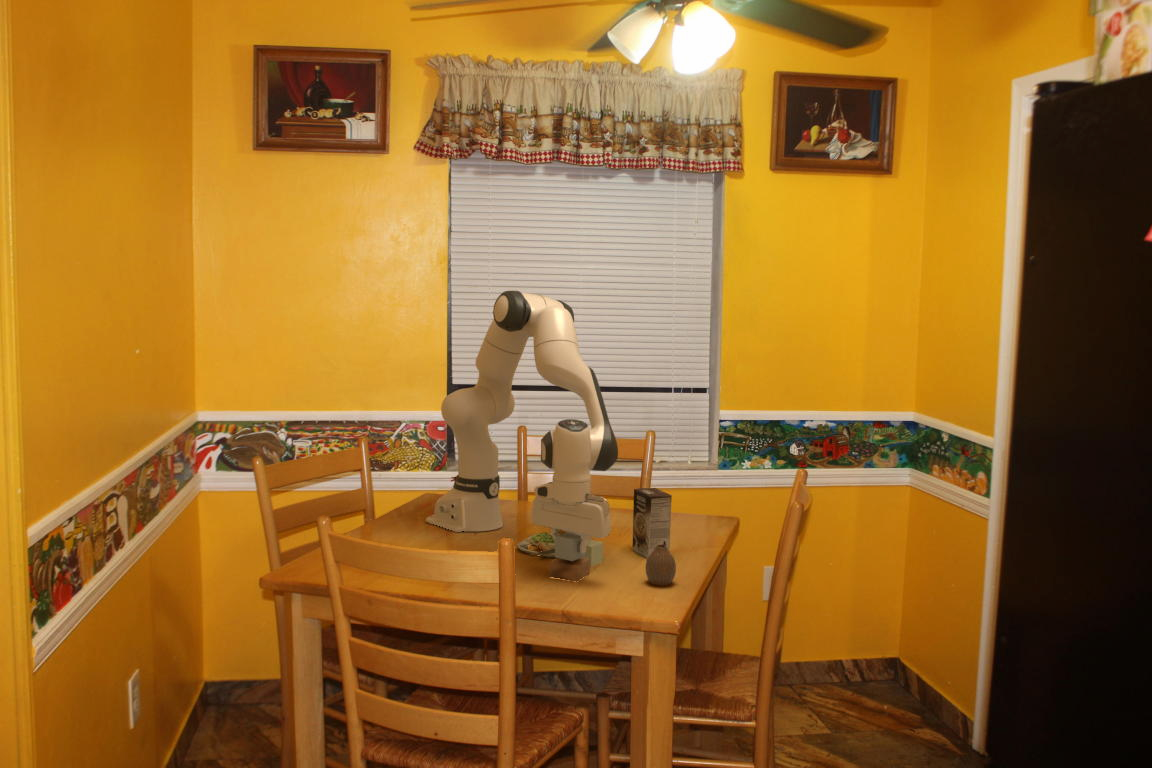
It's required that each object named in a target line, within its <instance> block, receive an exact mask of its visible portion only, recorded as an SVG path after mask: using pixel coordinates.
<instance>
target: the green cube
mask: <svg viewBox="0 0 1152 768" xmlns="http://www.w3.org/2000/svg"><path fill="white" fill-rule="evenodd" d="M582 558H587V559H590V566H592V567H594V566H596V565H595V564H597V565H598V563H599V564H601V563H600V562H602V563H604V542H603V541H597V540H593V539H590V540H589V542H588V544H587V545H586V552H585V556H584V557H582ZM593 565H594V566H593Z"/></svg>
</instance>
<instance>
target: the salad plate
mask: <svg viewBox="0 0 1152 768" xmlns="http://www.w3.org/2000/svg"><path fill="white" fill-rule="evenodd" d="M565 532H568V531H563V533H565ZM554 543H555V540H554V539H553V537H552V534H551V533H548V532H544V531H543V532H541V533H537V534H533V535H531V536H529V537H527V538H526V539H524V540H523V541H520V542H518V543H517V548H518V549H519V550H520V551H521V552H522V553H524V552H525V554H526V553H528V554H527V555H529V554H533V555H532V556H536V555H540V556H539V557H542V556H545V557H544V558H556V557H555V546H554ZM531 544H532V545H531ZM528 545H531V546H534V545H535V547H536V546H537V548H539V549H540V550H541V551H542V552H541V551H540V550H539V551H536V550H530V549H529V548H528ZM528 549H529V550H528Z"/></svg>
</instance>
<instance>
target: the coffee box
mask: <svg viewBox="0 0 1152 768" xmlns="http://www.w3.org/2000/svg"><path fill="white" fill-rule="evenodd" d="M672 496H673V495H672V494H669V493H667V492H665V491H663V490H661V489H658V488H656V487H651V488H650V487H646V488H645V487H642V488H633V507H632V508H633V517H632V518H633V519H632V547H631V548H632V549H631V550H632V551H633V552H635V553H637V554H638V555H640V556H642V557H643V558H645V559H646V560H647V559H648V557H649V555H650V554H651V553H652V552H653V550H654V549H655V547H656V545H660V544H661V545H666V546H667V548H668V550H669V551H670V546H671V545H670V544H671V542H670V541H671V525H672V524H671V523H672V522H671V521H672Z"/></svg>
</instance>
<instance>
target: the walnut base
mask: <svg viewBox="0 0 1152 768" xmlns="http://www.w3.org/2000/svg"><path fill="white" fill-rule="evenodd" d="M590 569H591V567H590V559H587V558H579V559H577V560H574V561H570V560H565V559H561V558H557V557H556V558H555V559H553V560H552V561H550V562H549V577H554V578H560V579H565V580H570V581H576V582H577V581H579V580H580V579H582V578H583V577H585V576H587V575H589V574H590V573H591V570H590ZM590 575H591V574H590ZM590 575H589V576H590ZM587 577H588V576H587ZM585 578H586V577H585ZM582 580H583V579H582ZM579 582H580V581H579Z"/></svg>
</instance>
